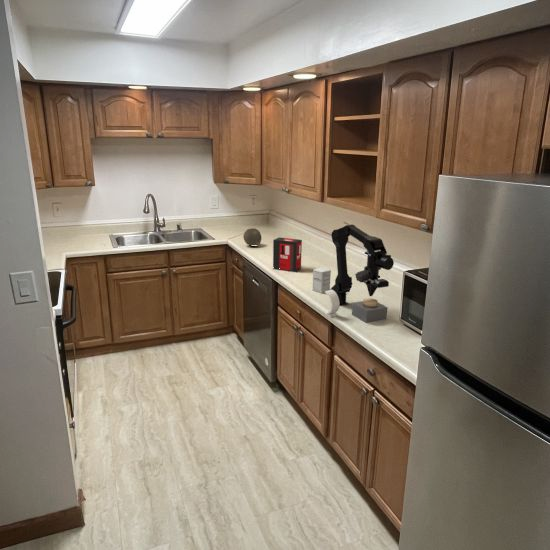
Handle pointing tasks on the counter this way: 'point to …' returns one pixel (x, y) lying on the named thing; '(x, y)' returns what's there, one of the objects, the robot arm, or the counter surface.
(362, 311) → the gray rectangular block
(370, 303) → the tan rounded lump
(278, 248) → the cleaning product box
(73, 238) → the counter surface
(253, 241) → the spherical smart speaker
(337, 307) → the headphone stand
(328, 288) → the supplement box
